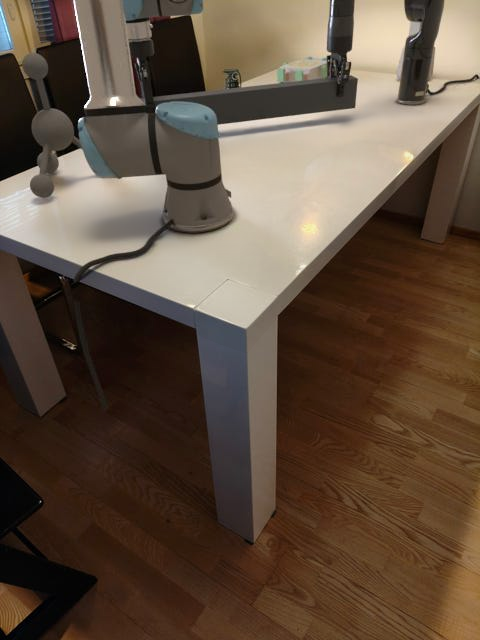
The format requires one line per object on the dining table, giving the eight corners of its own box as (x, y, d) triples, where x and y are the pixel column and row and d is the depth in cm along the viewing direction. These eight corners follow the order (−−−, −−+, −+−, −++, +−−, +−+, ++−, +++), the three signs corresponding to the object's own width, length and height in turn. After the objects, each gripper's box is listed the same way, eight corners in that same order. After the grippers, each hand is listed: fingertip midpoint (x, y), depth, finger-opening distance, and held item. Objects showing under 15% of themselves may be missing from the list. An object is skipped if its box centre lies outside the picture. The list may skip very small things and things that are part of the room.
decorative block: (300, 55, 216) (341, 58, 206) (299, 71, 220) (340, 74, 210) (268, 66, 200) (311, 70, 190) (268, 83, 204) (310, 87, 194)
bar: (133, 134, 144) (128, 104, 139) (132, 130, 148) (127, 99, 143) (355, 108, 155) (357, 78, 150) (348, 104, 159) (351, 75, 154)
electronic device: (404, 83, 193) (417, -8, 174) (394, 79, 199) (406, -9, 180) (432, 79, 195) (448, -11, 177) (422, 76, 201) (436, -12, 182)
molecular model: (125, 187, 123) (98, 53, 104) (35, 204, 117) (-11, 66, 98) (110, 158, 140) (84, 39, 122) (30, 172, 134) (-9, 49, 116)
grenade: (223, 100, 185) (221, 71, 179) (226, 96, 190) (225, 68, 184) (239, 100, 184) (238, 71, 178) (243, 96, 188) (242, 68, 182)
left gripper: (155, 43, 126) (168, 134, 140) (149, 33, 140) (161, 118, 154) (126, 46, 125) (142, 138, 139) (122, 36, 139) (137, 120, 153)
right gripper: (362, 35, 139) (356, 98, 149) (342, 28, 150) (338, 88, 160) (337, 37, 137) (333, 101, 148) (319, 31, 148) (317, 91, 159)
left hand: (152, 127), depth 147 cm, fingers closed on bar, 5 cm apart
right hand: (336, 94), depth 154 cm, fingers closed on bar, 5 cm apart
